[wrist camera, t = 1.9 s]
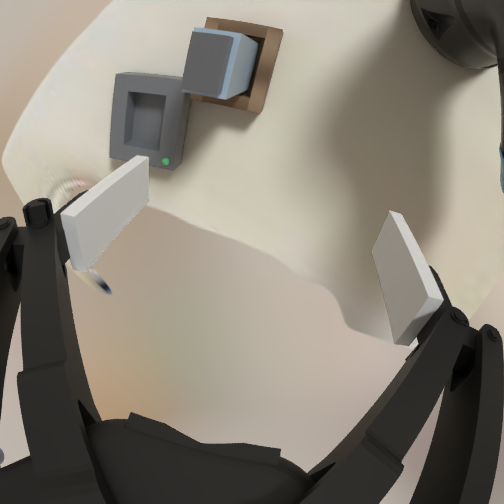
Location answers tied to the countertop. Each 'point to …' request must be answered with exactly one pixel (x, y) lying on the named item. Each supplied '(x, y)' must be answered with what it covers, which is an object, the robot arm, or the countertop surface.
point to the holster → (262, 68)
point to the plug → (219, 63)
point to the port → (149, 118)
